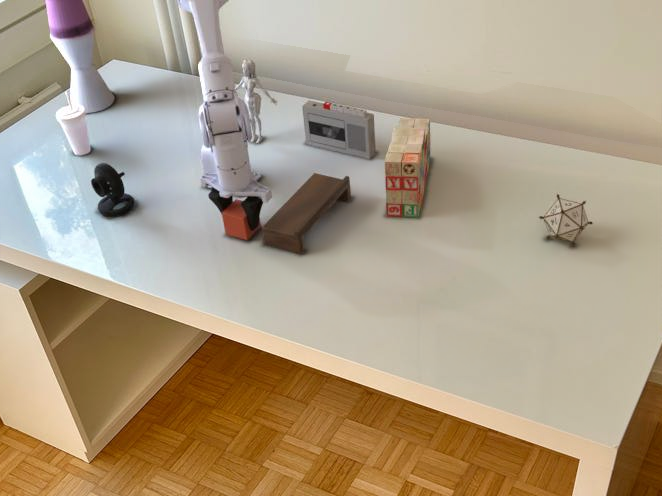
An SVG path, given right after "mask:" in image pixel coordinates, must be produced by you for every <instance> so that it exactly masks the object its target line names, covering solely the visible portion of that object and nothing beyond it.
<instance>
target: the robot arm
mask: <svg viewBox="0 0 662 496" xmlns="http://www.w3.org/2000/svg"><path fill="white" fill-rule="evenodd" d="M176 2H177V5H178V6H179V8H180V9H182V10H184V11H186V12H189V13H191V14H192V16H193V20H194V24H195V28H196V33H197V35H198V39H199V44H200V45H199V46H200V51H201V59H200V60H199V62H198V65H197V69H198V74H199V80H200V85H201V91H202V92H201V93H202V97H203V103H202V104H200V106H199V108H198V109H199V110H198V117H199V120H198V121H199V127H200V132H201V138H202V143H203V144H202V146H201V150H200V161H201V166H202V171H203V175H202V176H200V177H199V180H200V184H201V187H202V188H208V189H211V190H210V192H209V193H208V195H207V196H208V199H209V201H211V202H212V203H213V204H214V205H215V206H216V208H217V209H218V211H219V213H220V215H222V212H223V211H224V210H225V209H226V208H227V207H228V206H229V205H230V204H231V203H232V202H233V201H234V197H246V198H245V199H244V200H242V201H243V202H242V203H241V206H242V208H243V209H244V211H245V214H246V216H247V220H248V225H249V228H250V230H252V231H254V230H255V229H256V228H257V227H258V226H259V217H260V216H261V210H262V207H263V204H264V203H265V204H267V203H268V202H269V201H270V200H271V199H272V198H273V192H272V188H270V187H268V186H265V185H263V184H261V183H260V182H258V181H259V179H260V178H261V177H262V175H261V173H258V172H257V173H256V172H252V168H251V167H252V166H251V161H250V154H249V149H248V147H249V145H248V142H251V140H252V138H253V134H252V133H253V130H252V126H251V122H250V117H249V113H248V110H247V105H246V103H245V101H244V100H245V99H242V98H240V97H239V96H238V95H239V94H238V92H237V89H236V90H235V88H236V85H235V78H234V73H233V67H232V62H231V60H230V58H229V57H227V56H226V54H225V50H224V44H223V38H222V37H223V36H222V33H221V31H222V30H221V23H220V14H219V13H220V9H222V8H223V6H224V5H226V3H228V2H229V0H176ZM260 218H261V217H260Z"/></svg>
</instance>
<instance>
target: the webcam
mask: <svg viewBox="0 0 662 496" xmlns="http://www.w3.org/2000/svg"><path fill="white" fill-rule="evenodd" d="M93 175H94V177H93V178H92V179H91V181H90V184H91V187H92V190H93V191H94V192H95V194H96V195H97V196H99V197H100V198H101V199H100V200H99V202H98V203H97V211H98V213H99V214H100V215H102V216H104V217H107V218H116V217H120V216H124V215H126V214H129V212H131V211H132V210H133V209H134V207H135V199H134V197H133V196H132V195H131V194H128V193H126V192H125V191H126V190H125V185H124V181H123V180H122V177H124V176H125V172H124V171H122V172H120V173H119V172H118V171H117V170H116V169H115V168H114V167H113V166H112V165H111V164H109V163H107V162H100V163H98V164H97V165H95V167H94V170H93ZM123 202H126V204H125V205H124V206H122V207H120V208H116V209H114V208H115V207H116V206H118V205H119V204H121V203H123Z"/></svg>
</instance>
